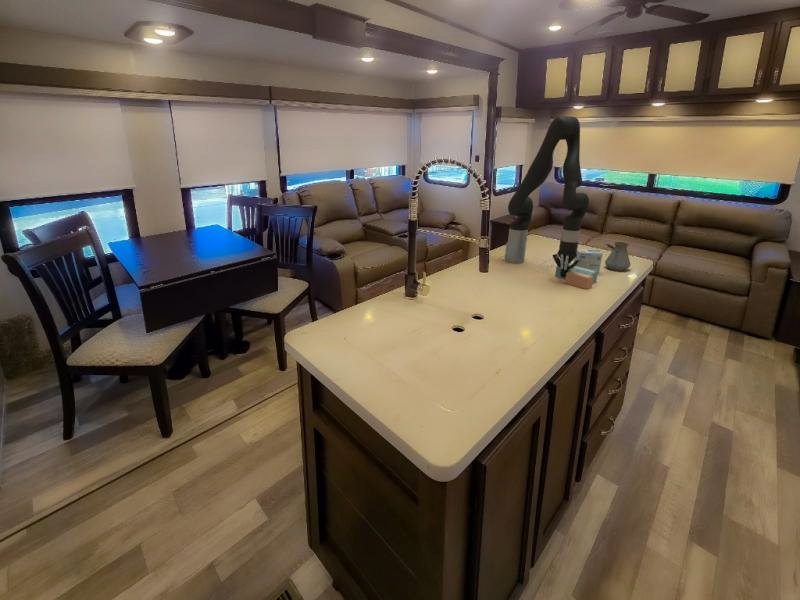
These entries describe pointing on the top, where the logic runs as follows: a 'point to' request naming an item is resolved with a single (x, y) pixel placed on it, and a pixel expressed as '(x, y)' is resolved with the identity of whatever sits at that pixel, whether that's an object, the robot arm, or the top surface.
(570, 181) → the robot arm
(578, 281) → the orange labelled box
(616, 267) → the coffee pot
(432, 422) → the top surface
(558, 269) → the blue labelled box
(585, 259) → the light bulb box
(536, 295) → the top surface
